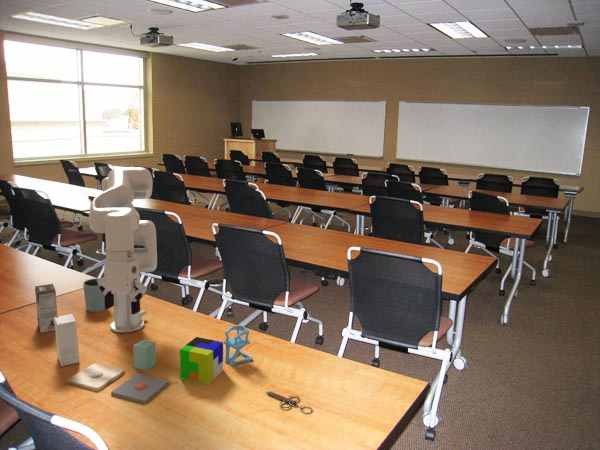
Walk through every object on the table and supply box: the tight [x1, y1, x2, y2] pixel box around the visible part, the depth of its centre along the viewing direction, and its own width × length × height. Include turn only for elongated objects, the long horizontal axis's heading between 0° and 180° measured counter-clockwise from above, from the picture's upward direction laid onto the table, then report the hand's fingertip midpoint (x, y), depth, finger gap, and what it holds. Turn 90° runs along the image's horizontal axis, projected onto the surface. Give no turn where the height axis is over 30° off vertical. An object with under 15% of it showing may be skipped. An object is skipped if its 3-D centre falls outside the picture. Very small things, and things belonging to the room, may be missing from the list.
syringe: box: [261, 389, 305, 411], centre depth 144 cm, size 8×18×2 cm, turn 56°
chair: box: [223, 325, 254, 366], centre depth 167 cm, size 8×8×12 cm
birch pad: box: [66, 362, 126, 392], centre depth 153 cm, size 12×12×1 cm
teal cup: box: [82, 277, 106, 313], centre depth 207 cm, size 10×10×12 cm
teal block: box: [132, 339, 157, 371], centre depth 161 cm, size 5×5×8 cm
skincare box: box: [54, 313, 81, 367], centre depth 162 cm, size 8×6×15 cm
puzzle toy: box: [179, 336, 224, 385], centre depth 157 cm, size 10×10×10 cm
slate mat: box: [110, 372, 170, 405], centre depth 148 cm, size 12×12×1 cm
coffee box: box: [34, 283, 58, 334], centre depth 187 cm, size 9×6×16 cm
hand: (122, 310), depth 144 cm, fingers open, 9 cm apart
